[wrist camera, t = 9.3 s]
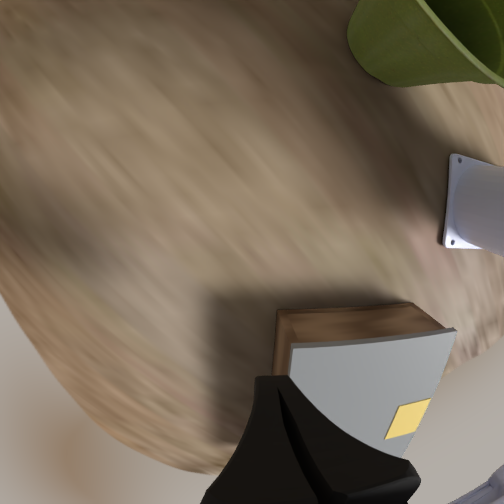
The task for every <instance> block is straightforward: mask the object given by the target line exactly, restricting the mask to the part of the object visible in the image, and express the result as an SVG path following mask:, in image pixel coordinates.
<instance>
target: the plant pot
mask: <svg viewBox="0 0 504 504" xmlns="http://www.w3.org/2000/svg"><path fill="white" fill-rule="evenodd" d="M347 40H348V44H349V47H350V49H351V52H352V54H353V55H354V57H355V59H356V60H357V61H358V63H359V64H360V65H361V66H362V67H363V69H364V70H365V71H367V72H368V73H369V74H370V75H372V76H374V77H376V78H378V79H379V80H381V81H382V82H384V83H385V84H387V85H390V86H394V87H411V86H419V85H428V84H437V83H449V82H464V81H473V82H477V83H482V84H497V85H499V86H500V87H502V88H504V0H359V2H358V4H357V6H356V8H355V10H354V12H353V14H352V17H351V19H350V21H349V24H348V28H347Z"/></svg>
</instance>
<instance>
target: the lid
mask: <svg viewBox="0 0 504 504" xmlns="http://www.w3.org/2000/svg"><path fill="white" fill-rule="evenodd" d="M456 334H457V330H456V329H454V328H453V327H452V328H446V329H440V330H433V331H427V332H420V333H412V334H404V335H396V336H387V337H377V338H367V339H356V340H343V341H329V342H311V343H291V350H290V359H289V367H288V376H289V377H290V378H291V379H292V380H293V382H294V383H295V384H296V386H297V387H298V388H299V389H300V390H301V392H302V393H303V394H304V395H305V396H306V397H307V398H308V399H309V401H310V402H311V403H312V404H313V405H314V406H315V407H316V408H317V409H318V410H319V411H320V412H321V413H322V414H324V415H325V416H326V417H327V418H328V419H329V420H330V421H332V422H333V423H334V424H335V425H337V426H338V427H339V428H341V429H342V430H343V431H345V432H346V433H348V434H349V435H351V436H352V437H354V438H356V439H358V440H360V441H361V442H363V443H365V444H367V445H369V446H371V447H373V448H375V449H377V450H380V451H382V452H384V453H387V454H390V455H393V456H396V457H399V458H401V457H402V455H403V454H404V452H405V450H406V449H407V447H408V445H409V443H410V442H411V440H412V438H413V436H414V434H415V432H416V430H417V428H418V426H419V425H420V423H421V421H422V419H423V416H424V414H425V412H426V410H427V408H428V406H429V404H430V401H431V399H432V397H433V395H434V392H435V390H436V388H437V385H438V383H439V381H440V378H441V376H442V373H443V371H444V368H445V366H446V363H447V360H448V357H449V355H450V352H451V349H452V346H453V343H454V340H455V337H456Z"/></svg>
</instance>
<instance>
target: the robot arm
mask: <svg viewBox="0 0 504 504" xmlns="http://www.w3.org/2000/svg"><path fill="white" fill-rule="evenodd" d="M458 159H459V162H458ZM451 241H452V243H451ZM443 246H444V247H446V248H465V249H485V250H488V251H490V252H493V253H495V254H498V255H500V256H503V257H504V167H502V166H495V165H492V164H489V163H486V162H482V161H479V160H476V159H473V158H469V157H466V156H463V155H459V154H451V155H450V162H449V184H448V198H447V209H446V218H445V227H444V235H443ZM420 483H421V478H420V477H419V475H418V473H417V471H416V470H415V468H414V467H413V465H412V464H411V463H410V461H409V460H406V459H402V458H399V457H396V456H393V455H390V454H387V453H384V452H382V451H380V450H377V449H375V448H373V447H371V446H369V445H367V444H365V443H363V442H361V441H360V440H358V439H356V438H354V437H352V436H351V435H349V434H348V433H346V432H345V431H343V430H342V429H341V428H339V427H338V426H337V425H335V424H334V423H333V422H332V421H330V420H329V419H328V418H327V417H326V416H325V415H324V414H322V413H321V412H320V411H319V410H318V409H317V408H316V407H315V406H314V405H313V404H312V403H311V402H310V401H309V399H308V398H307V397H306V396H305V395H304V394H303V393H302V392H301V390H300V389H299V388H298V387H297V386H296V384H295V383H294V382H293V380H292V379H291V378H290V377H289V376H288V375H275V376H257V377H256V378H255V386H254V403H253V408H252V412H251V415H250V418H249V421H248V424H247V426H246V429H245V431H244V434H243V436H242V438H241V440H240V442H239V444H238V446H237V448H236V450H235V452H234V454H233V455H232V457H231V459H230V460H229V462H228V463H227V465H226V466H225V468H224V469H223V470H222V472H221V473H220V475H219V476H218V477H217V478H216V480H215V481H214V482H213V483H212V484H211V486H210V487H209V488H208V489H207V490H206V492H205V495H204V497H203V499H202V501H201V503H200V504H408V503H407V501H408V500H409V499H410V497H411V496H412V495H413V494H414V493H415V491H416V490H417V489H418V487H419V485H420ZM448 504H504V465H502V466H501V467H500V468H499V469H497V470H496V471H495V472H494V473H493V474H492V476H491V477H490V478H489V479H488V481H486V482H485V483H483V484H482V485H480V486H478V487H477V488H475V489H474V490H472V491H470V492H469V493H467V494H465V495H463V496H461V497H460V498H458V499H456V500H454V501H452V502H450V503H448Z"/></svg>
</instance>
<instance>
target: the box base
mask: <svg viewBox="0 0 504 504" xmlns="http://www.w3.org/2000/svg"><path fill="white" fill-rule="evenodd" d="M440 329H446V328H445V327H444V326H442V325H441V324H440V323H438V322H437V321H436V320H435V319H433V318H432V317H431V316H429V315H428V314H427V313H426V312H424V311H423V310H422V309H420V308H419V307H418V306H416V305H415V304H414V303H403V304H390V305H376V306H360V307H342V308H319V309H286V310H277V316H276V329H275V342H274V354H273V366H272V376H275V375H288V367H289V359H290V350H291V343H311V342H329V341H343V340H356V339H367V338H377V337H387V336H396V335H404V334H412V333H420V332H427V331H433V330H440Z"/></svg>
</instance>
